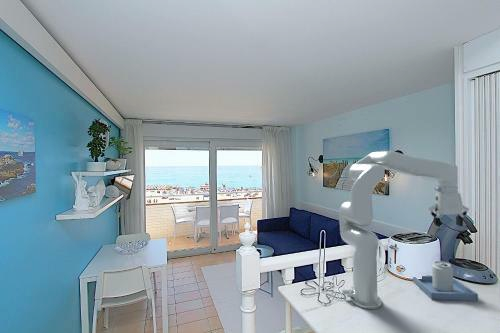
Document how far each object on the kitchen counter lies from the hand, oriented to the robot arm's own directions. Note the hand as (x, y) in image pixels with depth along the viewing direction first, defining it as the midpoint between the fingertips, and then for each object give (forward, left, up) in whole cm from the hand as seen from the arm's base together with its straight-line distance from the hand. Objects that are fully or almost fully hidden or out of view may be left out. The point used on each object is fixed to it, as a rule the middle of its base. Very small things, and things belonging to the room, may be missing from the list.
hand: (448, 225), depth 115 cm
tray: (-7, -6, -28) cm, 30 cm away
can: (-7, -6, -28) cm, 29 cm away
